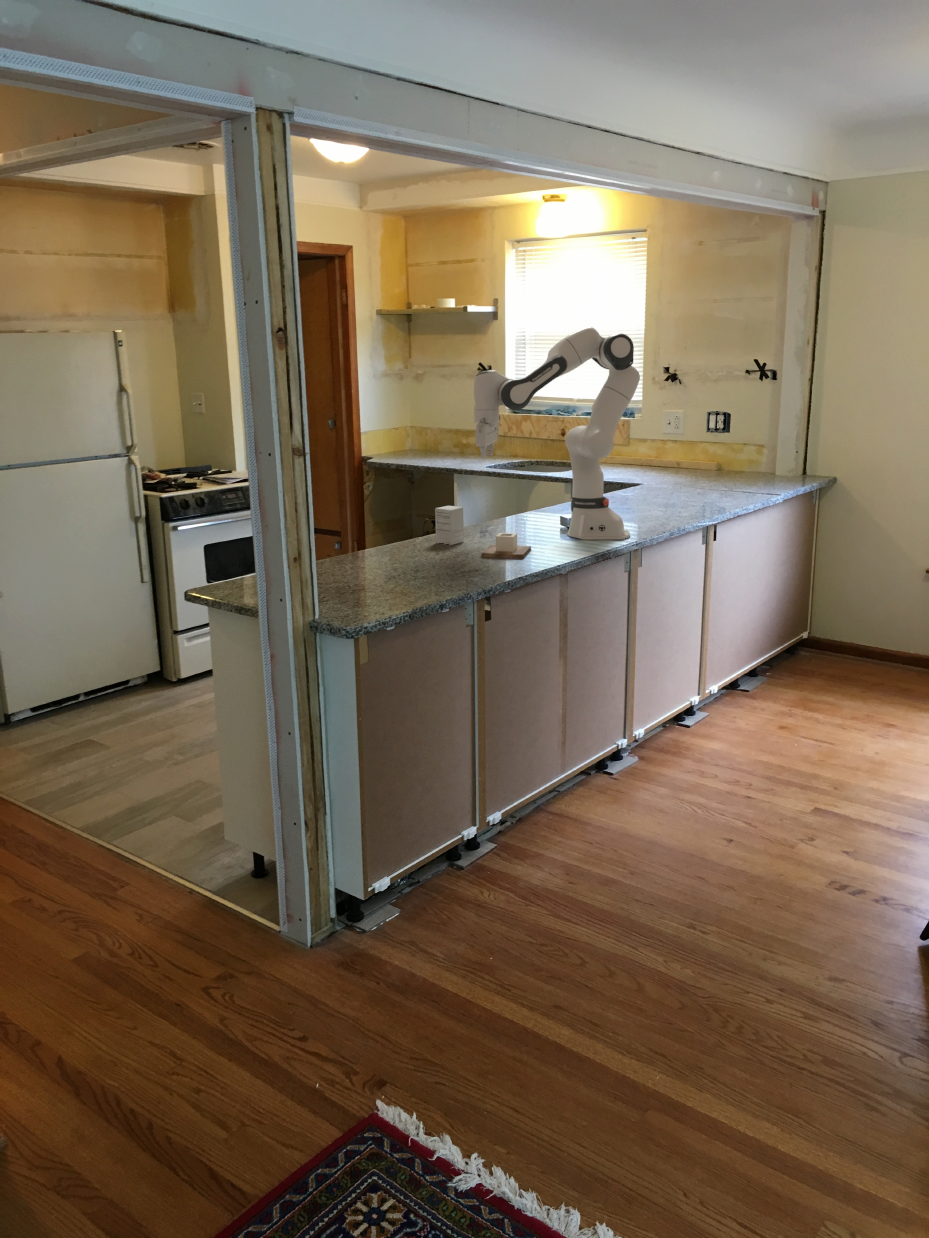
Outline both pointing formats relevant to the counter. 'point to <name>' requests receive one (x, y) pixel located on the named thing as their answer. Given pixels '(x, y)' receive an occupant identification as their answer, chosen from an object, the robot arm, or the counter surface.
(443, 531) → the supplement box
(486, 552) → the pin board
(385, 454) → the counter surface
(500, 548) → the collar
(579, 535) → the robot arm
